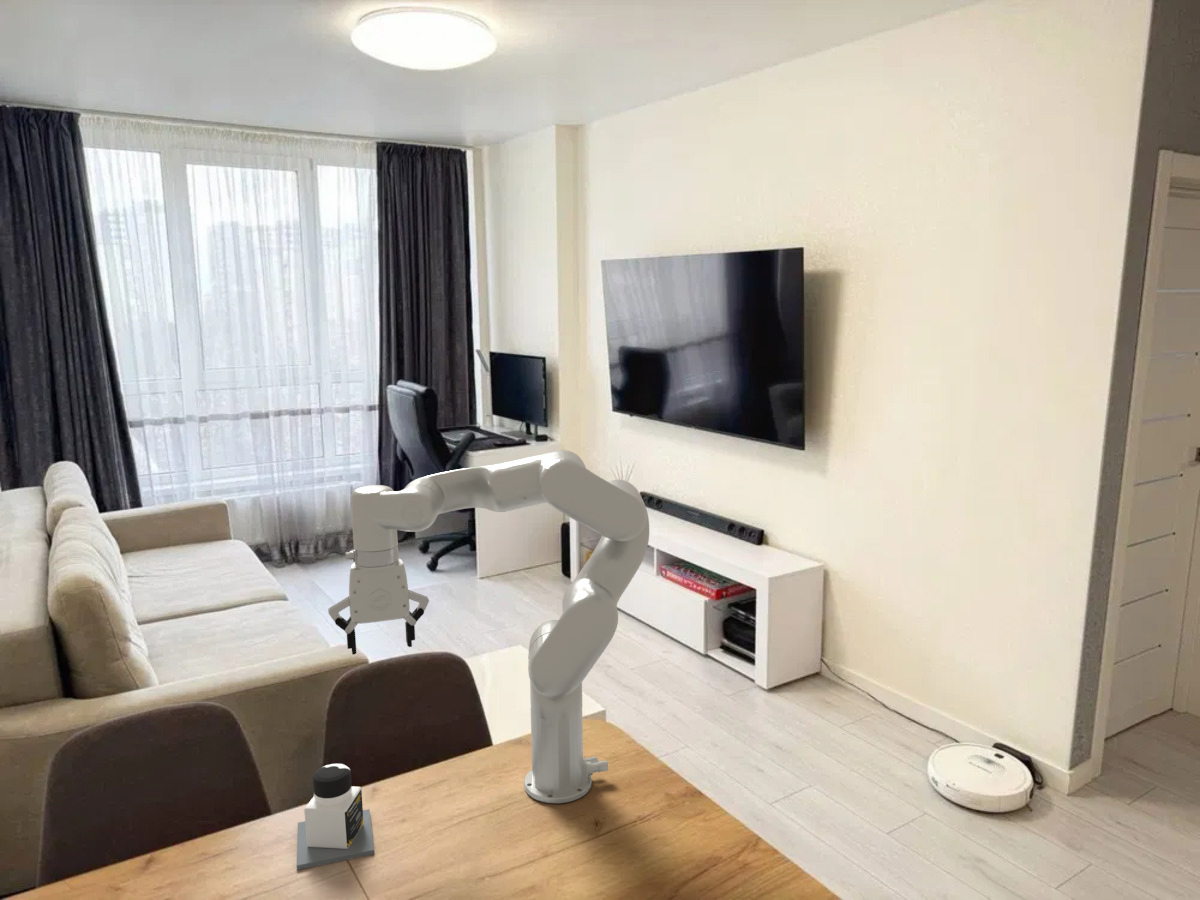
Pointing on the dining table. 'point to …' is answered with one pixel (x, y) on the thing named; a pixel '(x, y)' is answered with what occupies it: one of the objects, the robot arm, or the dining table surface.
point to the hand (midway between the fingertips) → (381, 647)
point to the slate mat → (322, 856)
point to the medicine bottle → (333, 809)
